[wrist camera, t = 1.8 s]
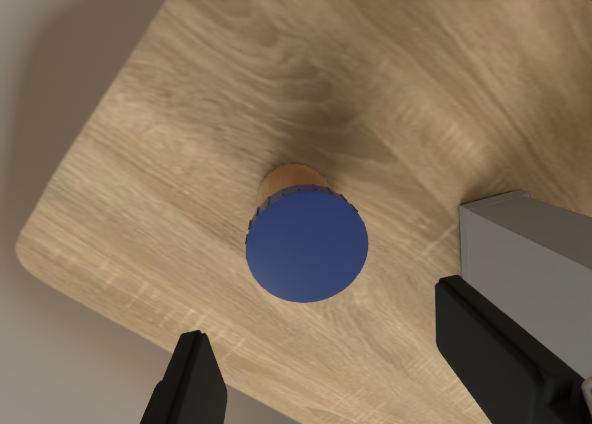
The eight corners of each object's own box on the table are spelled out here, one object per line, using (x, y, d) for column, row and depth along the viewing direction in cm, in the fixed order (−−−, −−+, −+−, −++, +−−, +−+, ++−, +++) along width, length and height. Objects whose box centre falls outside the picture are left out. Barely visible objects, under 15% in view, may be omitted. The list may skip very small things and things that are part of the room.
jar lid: (243, 184, 15) (240, 192, 14) (364, 181, 16) (374, 188, 14) (250, 289, 18) (249, 307, 16) (356, 283, 18) (364, 300, 17)
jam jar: (255, 164, 23) (246, 195, 14) (330, 162, 24) (367, 191, 15) (259, 234, 25) (253, 299, 16) (328, 231, 26) (358, 292, 17)
